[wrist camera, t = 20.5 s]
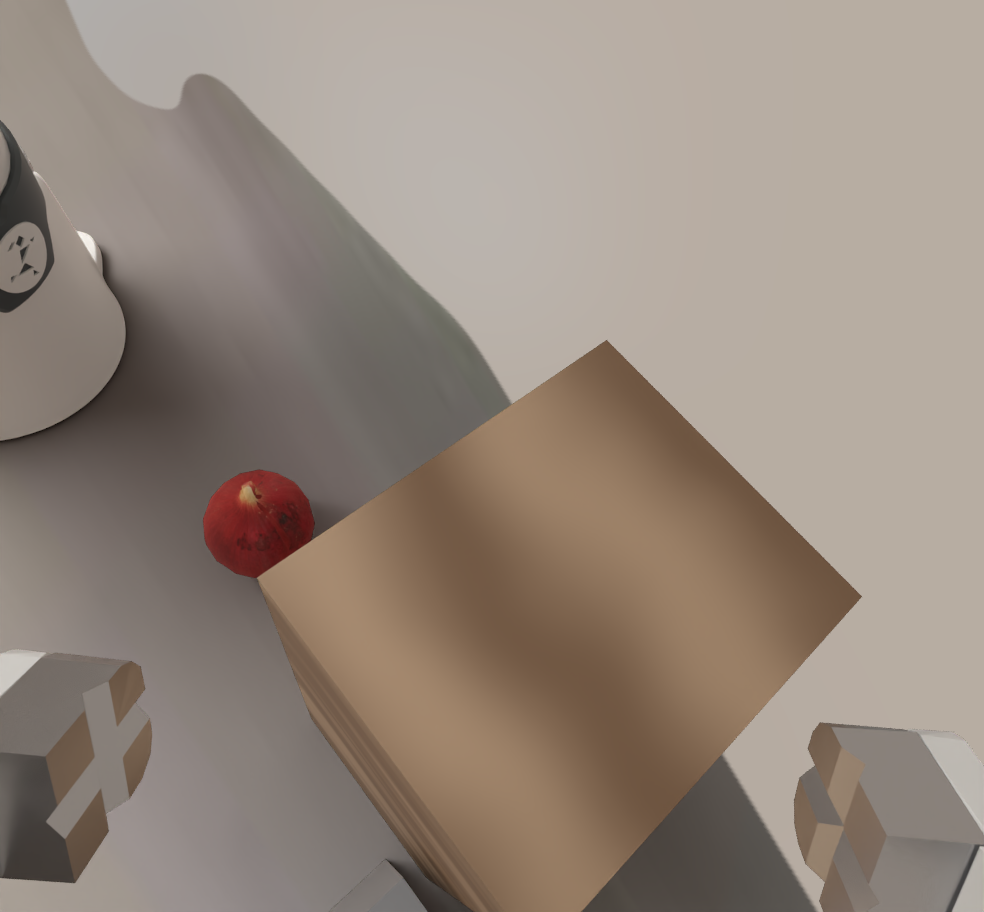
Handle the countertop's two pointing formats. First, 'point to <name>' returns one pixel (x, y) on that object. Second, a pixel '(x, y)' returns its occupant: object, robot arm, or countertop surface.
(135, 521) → the countertop surface
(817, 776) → the robot arm
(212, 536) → the red apple
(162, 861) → the countertop surface
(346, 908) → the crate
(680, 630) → the pedestal
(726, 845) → the countertop surface
